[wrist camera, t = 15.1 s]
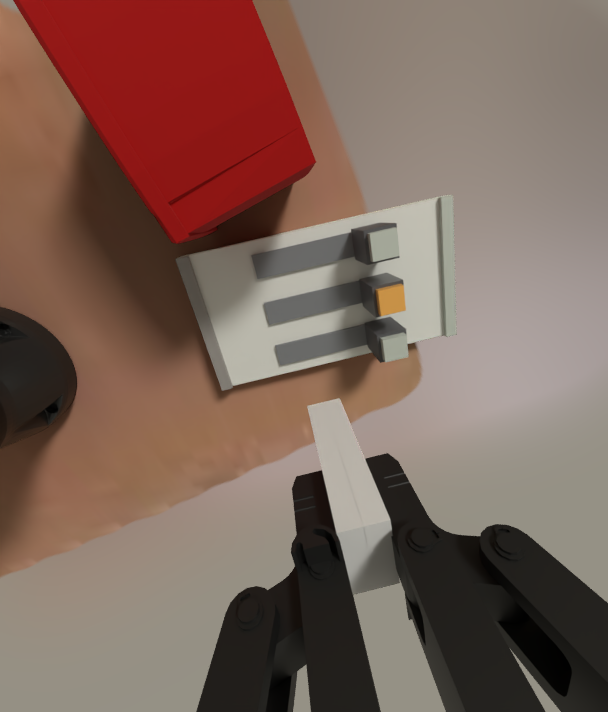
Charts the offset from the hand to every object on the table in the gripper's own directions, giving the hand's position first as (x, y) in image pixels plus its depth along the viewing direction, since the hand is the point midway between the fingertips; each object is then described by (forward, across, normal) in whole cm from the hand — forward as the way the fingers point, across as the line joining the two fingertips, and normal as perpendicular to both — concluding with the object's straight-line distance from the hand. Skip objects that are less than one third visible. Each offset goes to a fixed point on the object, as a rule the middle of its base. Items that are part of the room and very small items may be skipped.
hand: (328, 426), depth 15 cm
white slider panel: (+24, +4, 0) cm, 25 cm away
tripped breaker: (+22, +9, 0) cm, 24 cm away
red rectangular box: (+25, -4, +18) cm, 31 cm away
